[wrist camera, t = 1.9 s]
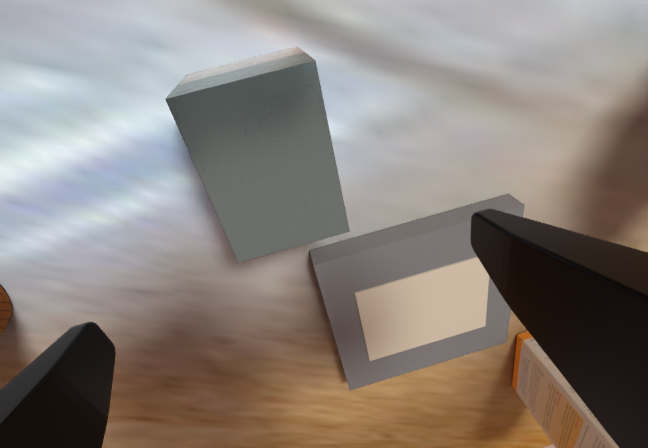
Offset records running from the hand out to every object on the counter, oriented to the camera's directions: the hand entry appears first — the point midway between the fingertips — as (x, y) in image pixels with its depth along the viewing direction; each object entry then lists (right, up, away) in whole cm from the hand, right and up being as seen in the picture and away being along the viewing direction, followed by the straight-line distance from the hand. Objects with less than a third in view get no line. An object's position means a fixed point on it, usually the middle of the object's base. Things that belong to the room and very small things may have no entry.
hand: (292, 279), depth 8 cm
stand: (+7, -4, +17) cm, 19 cm away
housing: (-2, +6, +9) cm, 11 cm away
